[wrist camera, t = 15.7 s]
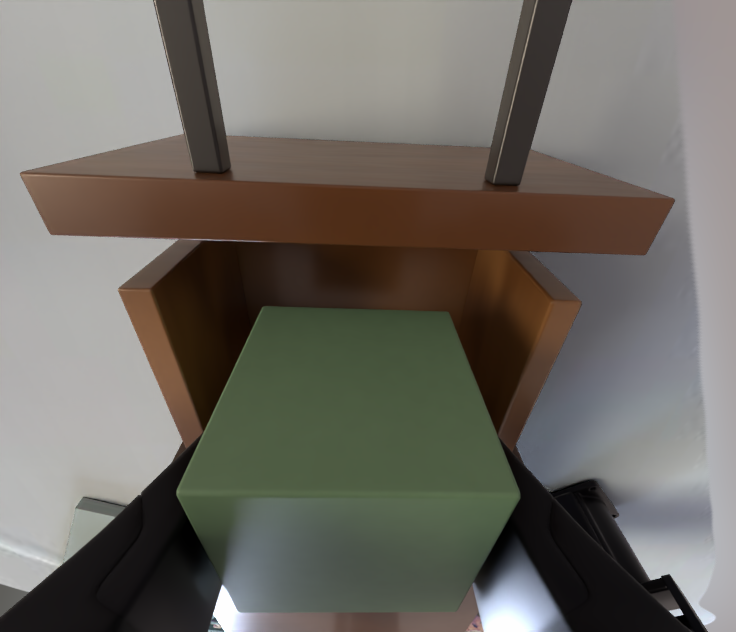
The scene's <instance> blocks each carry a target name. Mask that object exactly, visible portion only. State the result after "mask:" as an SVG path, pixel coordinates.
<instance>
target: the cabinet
mask: <svg viewBox="0 0 736 632" xmlns="http://www.w3.org/2000/svg"><path fill="white" fill-rule="evenodd" d="M185 449H186V447H185V445H184V443H183V442H182V444H181V446H180V448H179V450H178V451H177V453H176V455H175V457H174V459H173V461H174V460H175V459H176V458H177V457H178V456H179V455H180V454H181V453H182V452H183V451H184V450H185ZM513 453H514V454H515V456H516V457H517V458H518V459H519V460H520V461H521V462H522V463H523V461H522V459H521V457H520V454H519V452H518V450H517V447H516V445H515V447H514V450H513ZM173 461H172V462H173ZM523 464H524V463H523ZM478 612H479V610H478V606H477V602H476V598H475V594H474V590H473V585H471V587H470V589H469V591H468V592H467V594H466V596H465V598H464V599H463V601H462V603H461V605H460V607H459V608H458V610H457V611H456V612H345V613H238V612H237V611H236V610H235V608H234V606H233V604H232V602H231V600H230V598H229V596H228V594H227V592H226V590H225V588H224V587H223V585H222V587H221V590H220V593H219V597H218V600H217V603H216V607H215V610H214V613H213V614H214V615H215V617H216V618H217V620H218V622H219V623H220V625H221V626H222V628H223V629H224V631H225V632H465V631H466V630H467V628H468V627H469V626H470V624H471V623H472V621H473V620H474V618H475V617H476V615H477V614H478Z"/></svg>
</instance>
